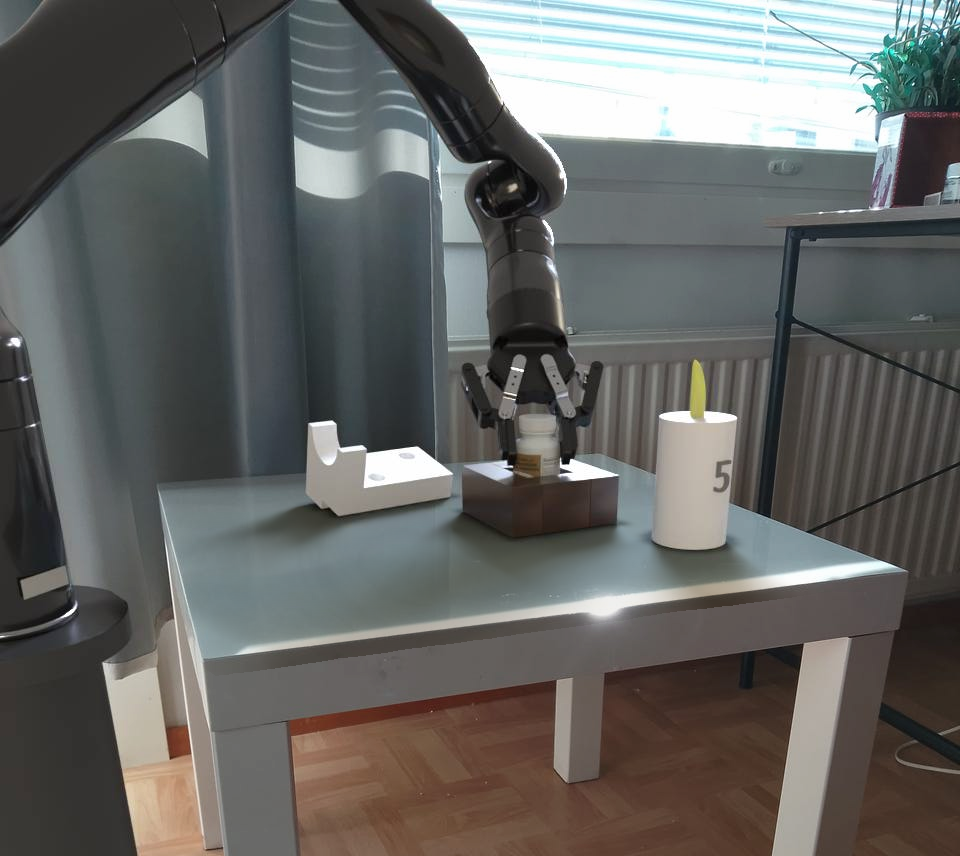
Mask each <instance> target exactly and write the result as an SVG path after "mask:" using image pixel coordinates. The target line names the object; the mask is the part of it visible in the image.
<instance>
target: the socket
mask: <svg viewBox="0 0 960 856" xmlns="http://www.w3.org/2000/svg"><path fill="white" fill-rule="evenodd" d="M619 483H620V475H619V474H616V473H613V472H610V471H607V470H604V469H600V468H599V467H595V466H592V465H590V464H587V463H583V462H580V461H578V460H574V459H571V460H570V464H569V465H561V457H560V474H557V475H549V476H540V477H531V478H526V477H523V476H521V475H518V474H516V473H513V466H507V460H499V461H491V462H481V463H473V464H464V465H461V501H462V502H461V503H462V509H461V510H462V512H463V513H465V514H467V515H469V516H471V517H473V518H474V519H477V520H478V521H480V522H482V523H484V524H486V525H487V526H489V527H491V528H493V529H495V530H497V531H499V532H501V533H502V534H504V535H506V536H508V537H510V538H512V539H516V538H522V537H523V538H524V537H529V536H537V535H543V534H544V535H545V534H551V533H559V532H565V531H572V530H580V529H586V528H593V527H599V526H600V527H601V526H607V525H614V524H617V522H618V505H619V504H618V503H619Z"/></svg>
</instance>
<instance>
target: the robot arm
mask: <svg viewBox="0 0 960 856" xmlns="http://www.w3.org/2000/svg"><path fill="white" fill-rule="evenodd" d="M296 1H297V0H42V1H41V2H40V3H39V6H37V8H36V9H35V10H34V12H33V13H32V14H31V15H30V17H29V18H28V19H27V20H26V21H25V22H24V24H22V26H20V27H19V29H17V31H15V33H13V34H12V35H11V36H9V37H8V38H7V39H6V40H4V41H3V42H1V43H0V248H2V247H3V246H4V245H5V244H6V243H7V242H9V240H10V239H11V238H12V237H13V236H14V235H15V234H16V233H17V232H18V231H19V230H20V229H21V228H22V226H24V225H25V223H26V222H27V221H28V220H29V219H30V218H31V217H32V216H33V215H34V214H35V213H36V212H37V211H38V210H39V209H40V208H41V207H42V206H43V204H45V202H46V201H48V200H49V198H50V197H51V196H53V194H54V193H56V191H58V190H59V188H60V187H61V186H62V185H63V184H64V183H65V182H66V181H67V180H68V179H69V178H70V177H71V176H72V175H73V174H74V173H75V172H76V171H77V170H79V168H81V166H83V165H84V164H85V163H86V162H87V161H88V160H90V158H92V157H93V156H95V155H96V154H97V153H98V152H99V151H101V150H103V149H105V148H106V147H107V146H109V145H111V144H112V143H114V142H116V141H118V140H119V139H121V138H123V137H124V136H127V134H129V133H131V132H133V131H134V130H136V129H137V128H139V127H140V126H142V125H143V124H145V123H146V122H148V121H149V120H150V119H153V118H154V117H155V116H156V115H158V114H159V113H161V112H163V111H164V110H165V109H167V108H168V107H169V106H171V105H172V104H174V103H175V102H177V101H178V100H180V99H181V98H182V97H184V96H185V95H187V94H188V93H189V92H191V91H193V89H194V88H195V87H197V86H199V84H201V83H202V82H203V81H204V80H205V79H207V78H208V77H210V76H211V75H212V74H213V73H214V72H216V71H217V70H218V69H219V68H221V67H222V66H223V65H224V64H225V63H227V61H229V59H231V58H232V57H233V56H234V55H236V54H237V52H239V51H240V50H241V49H242V48H243V47H245V46H246V45H247V44H249V43H250V42H251V41H252V40H253V39H255V38H256V37H257V36H258V35H259V34H261V33H262V32H263V31H264V30H265V29H267V27H268V26H270V25H271V24H273V22H275V20H277V19H278V18H279V17H280V16H281V15H282V14H283V13H284V12H285V11H286V10H287V9H289V7H291V6H292V5H293V4H294V3H295V2H296ZM336 2H337V3H338V4H339V5H340V6H341V7H342V9H343V10H344V11H345V12H346V13H347V14H348V16H349V17H350V18H351V19H352V20H353V21H354V22H355V24H356V25H357V26H358V27H359V28H360V29H361V31H363V33H364V34H365V35H366V36H367V37H368V38H369V40H370V41H371V42H372V44H373V45H374V46H375V47H376V48H377V49H378V50H379V51H380V53H381V54H382V55H383V57H385V59H386V60H387V61H388V62H389V63H390V65H391V66H392V68H393V69H394V70H395V71H396V73H397V74H398V75H399V77H400V78H401V80H402V81H403V82H404V84H405V85H406V86H407V88H408V89H409V90H410V92H411V94H412V96H413V97H414V98H415V100H416V102H418V104H419V106H420V107H421V109H422V110H423V112H424V113H425V115H426V116H427V118H428V120H429V123H431V125H432V126H433V128H434V129H435V131H436V133H437V134H438V136H439V138H440V139H441V140H442V142H443V143H444V145H445V147H446V148H447V150H448V151H449V153H450V154H451V155H452V157H453V158H455V159H456V160H457V161H458V162H460V163H462V164H465V165H472V164H479V163H484V162H485V163H484V164H481V165H479V166H478V167H476V168H475V169H474V170H472V172H471V173H470V175H469V176H468V178H467V179H466V183H465V186H464V191H463V193H464V195H463V196H464V203H465V205H466V209H467V210H468V211H467V212H468V213H469V215H470V217H471V219H472V221H473V223H474V225H475V227H476V229H477V231H478V234H479V236H480V239H481V242H482V245H483V249H484V252H485V260H486V272H487V273H486V274H487V290H486V318H487V321H488V324H487V325H488V337H489V348H490V356H489V358H488V359H487V362H486V364H482V365H478V366H475V365H474V364H473V363H471V362H465V363H463V364H462V365H461V377H460V385H461V389H462V392H463V393H464V396H465V398H466V400H467V403H468V405H469V408H470V410H471V412H472V415H473V417H474V419H475V422H476V424H477V426H478V427H479V428H480V429H481V430H487V429H488V428H489V429H493V430H495V431H496V433H497V442H498V454H499V458H500V461H507V466H515V463H516V440H517V439H516V429H515V420H514V417H515V415H516V411H517V408H518V405H519V406H521V405H528V404H537V405H546V408H547V410H548V412H549V414H550V415H554V416H556V425H557V426H558V432H557V437H558V441H559V443H560V457H561V465H569V464H570V460H571V459H572V460H574V459H575V458H576V455H577V452H578V448H579V441H578V433H577V428H579V427H581V428H588V427H589V426H590V425H591V422H592V418H593V413H594V410H595V406H596V402H597V397H598V394H599V388H600V385H601V380H602V376H603V370H604V364H603V363H602V362H601V361H599V360H594V361H592V362H591V364H590V365H587V364H583V363H578V362H576V359H575V357H574V356H573V354H572V353H571V352H570V347H569V339H568V331H567V323H566V322H567V321H566V313H565V303H564V295H563V288H562V283H561V280H560V277H559V272H558V267H557V266H558V265H557V257H556V247H555V239H554V236H553V232H552V229H551V227H550V226H549V225H548V223H547V222H546V221H545V220H544V219H542V218H543V217H545V216H547V215H549V214H551V213H553V212H554V211H556V210H557V209H558V208H559V207H560V206H561V204H563V201H564V199H565V195H566V190H567V178H566V173H565V171H564V168H563V165H562V162H561V161H560V159H559V157H558V156H557V154H556V153H555V152H554V150H553V149H552V147H550V146H549V144H547V143H546V142H545V140H543V139H542V137H540V136H539V135H538V134H537V133H536V132H535V131H534V130H533V129H532V128H530V126H529V125H527V124H526V122H524V120H523V119H522V118H521V117H520V116H519V115H518V114H517V113H516V112H515V110H513V108H511V106H510V105H509V103H508V102H507V100H506V99H505V96H504V95H503V93H502V91H501V89H500V87H499V85H498V84H497V82H496V81H495V78H494V77H493V75H492V73H491V71H490V70H489V69H490V68H489V66H488V65H487V63H486V62H485V60H484V59H483V57H482V55H481V54H480V52H479V51H478V50H477V48H476V47H475V45H474V44H473V43H472V41H471V40H470V39H469V38H468V37H467V35H466V34H465V33H464V32H463V31H462V30H460V29H459V28H458V27H457V25H456V24H455V23H453V21H452V20H450V19H449V18H448V17H446V16H445V15H444V14H443V13H442V12H441V11H439V10H438V9H437V8H436V7H435V6H434V5H432V3H430V2H429V1H428V0H336ZM33 377H34V376H33V370H32V365H31V360H30V356H29V349H28V346H27V341H26V340H25V337H24V336H23V334H22V333H21V332H20V330H19V329H18V328H17V327H16V326H15V325H14V324H13V323H12V321H10V319H9V318H8V316H7V314H6V313H5V311H4V309H3V308H2V306H1V305H0V643H2V642H9V641H15V640H20V639H25V638H30V637H34V636H37V635H40V634H44V633H47V632H50V631H52V630H55V629H57V628H59V627H62V626H64V625H66V624H67V623H69V622H70V621H72V620H73V619H74V618H75V617H76V616H77V615H78V612H79V609H78V604H77V600H76V599H75V596H74V587H73V585H74V583H73V580H72V576H71V575H72V574H71V570H70V565H69V558H68V555H67V554H68V553H67V549H66V542H65V538H64V534H63V533H64V532H63V528H62V523H61V517H60V513H59V512H60V511H59V507H58V502H57V497H56V492H55V487H54V486H55V485H54V481H53V476H52V471H51V465H50V459H49V455H48V450H47V444H46V440H45V439H46V438H45V435H44V430H43V424H42V419H41V413H40V409H39V402H38V399H37V393H36V388H35V381H34V378H33ZM573 377H574V378H575V379H577V383H578V384H577V385H578V386H579V387H580V390H581V391H583V392H584V393H583V398H582V401H581V405H578V406H575V407H574V404H573V402H572V400H571V398H570V397H569V396H570V395H569V390H568V387H567V385H569V383H570V381H571V380H572V378H573ZM487 380H489V381H491V382H492V383H493V384H494V385H495V386H496V387H497V388H498V390H499V391H500V392H502V394H503V395H502V399H501V403H500V406H499V408H496V407H492V405H491V402H490V400H489V396H488V395H487V392H486V391H485V388H486V382H487Z"/></svg>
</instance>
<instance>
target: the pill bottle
mask: <svg viewBox="0 0 960 856" xmlns="http://www.w3.org/2000/svg"><path fill="white" fill-rule="evenodd" d="M517 425H518V428H517V429H518V433H519V434H520V438H517V439H515V440H516V463H515V466H513V473H516V474H518V475H521V476H523V477H526V478H531V477H540V476H549V475H557V474H560V443H559V439H557V438H555V437H554V434H555V433H556V432H557V431H556V430H557V422H556V416H554V415H551V414H550V413H525V414H520V415H519V416H518V423H517Z"/></svg>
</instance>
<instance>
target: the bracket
mask: <svg viewBox="0 0 960 856" xmlns="http://www.w3.org/2000/svg"><path fill="white" fill-rule="evenodd" d="M337 425H338V424H337V423H336V422H334V421H333V420H325V421H315V422H309V423H307V444H306V445H307V446H306V472H305V473H306V474H305V475H306V476H305V477H306V478H305V494H306V495H307V496H308V497H309V499H311V500H312V502H314V503H315V504H316V505H317V506H318V507H319V508H320V509H322V510H323V509H328V508H330V510H331V511H332V512H333V513H335V514H336V516H337V517H342V516H347V515H352V514H359V513H365V512H371V511H377V510H382V509H389V508H393V507H400V506H405V505H411V504H412V505H413V504H416V503H417V504H418V503H424V502H429V501H434V500H440V499H445V498H451V495H452V486H453V478H454V473H452V472H451V471H450V470H449V469H447V468H446V467H445V466H443V465H442V464H441V463H440V462H438V461H437V460H436V459H434V458H433V457H432V456H431V455H429V454H428V453H427V452H425V451H424V450H423V449H421V448H420V447H419V446H413V447H404V448H397V449H389V450H382V451H374V452H368V449H367V448H366V447H365V446H364V445H361V444H360V445H353V446H345V447H341V445H340V442H339V439H338V431H337V428H338V427H337Z"/></svg>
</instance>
